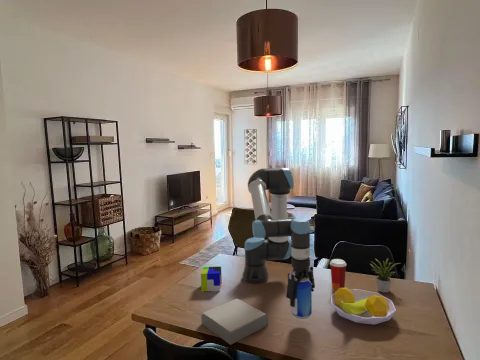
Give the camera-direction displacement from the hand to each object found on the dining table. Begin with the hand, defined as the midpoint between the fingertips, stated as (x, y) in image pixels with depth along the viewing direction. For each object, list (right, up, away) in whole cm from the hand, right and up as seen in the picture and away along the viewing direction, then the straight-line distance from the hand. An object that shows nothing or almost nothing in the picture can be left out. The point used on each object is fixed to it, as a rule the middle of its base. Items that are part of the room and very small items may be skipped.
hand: (301, 309), depth 129 cm
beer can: (0, -3, 0) cm, 3 cm away
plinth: (-28, -8, +3) cm, 29 cm away
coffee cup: (+26, -4, +33) cm, 42 cm away
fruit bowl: (+27, -6, +7) cm, 29 cm away
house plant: (+50, -3, +31) cm, 59 cm away
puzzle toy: (-41, -5, +40) cm, 58 cm away
